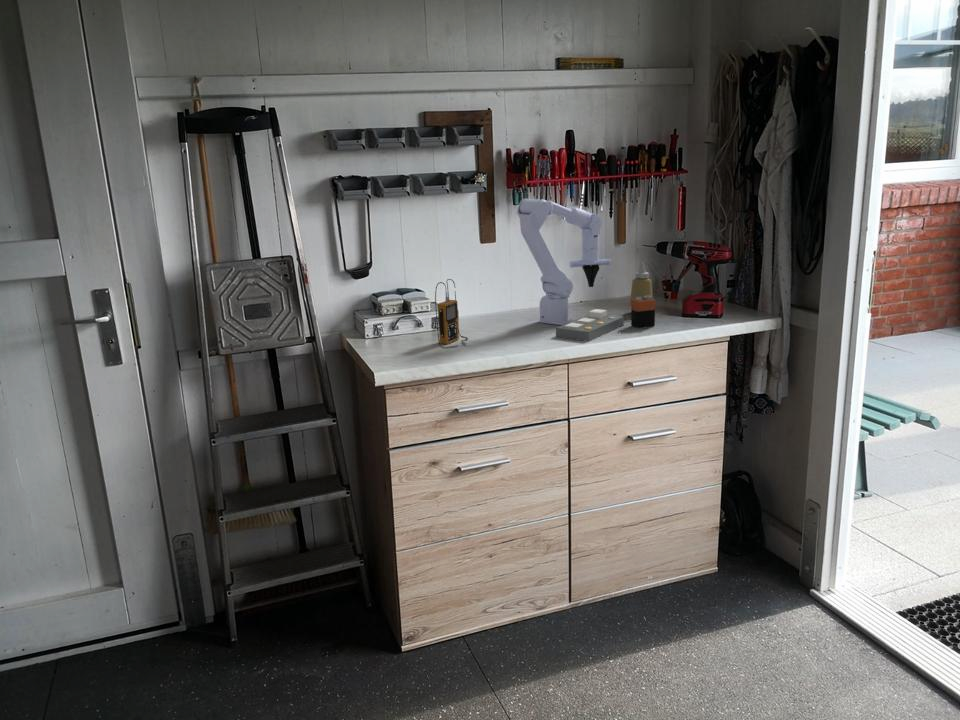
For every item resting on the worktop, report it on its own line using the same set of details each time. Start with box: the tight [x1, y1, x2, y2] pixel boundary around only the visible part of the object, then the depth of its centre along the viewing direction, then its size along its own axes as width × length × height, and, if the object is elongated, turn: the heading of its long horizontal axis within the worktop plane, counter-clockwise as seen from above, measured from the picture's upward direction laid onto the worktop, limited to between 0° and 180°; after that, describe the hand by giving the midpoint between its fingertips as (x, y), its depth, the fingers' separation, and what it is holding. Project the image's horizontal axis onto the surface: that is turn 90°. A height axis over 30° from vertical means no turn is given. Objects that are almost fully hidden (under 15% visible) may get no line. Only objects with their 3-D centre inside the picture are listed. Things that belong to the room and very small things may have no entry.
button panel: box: [555, 313, 625, 342], centre depth 256 cm, size 12×24×3 cm, turn 144°
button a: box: [565, 323, 584, 329], centre depth 250 cm, size 4×4×3 cm
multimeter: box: [434, 278, 469, 349], centre depth 245 cm, size 15×10×20 cm
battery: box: [630, 296, 656, 329], centre depth 259 cm, size 4×7×10 cm, turn 108°
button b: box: [577, 318, 596, 324], centre depth 256 cm, size 4×4×3 cm
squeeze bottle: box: [629, 261, 654, 305], centre depth 276 cm, size 8×8×18 cm
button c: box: [588, 308, 608, 319], centre depth 262 cm, size 4×4×3 cm
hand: (590, 286), depth 275 cm, fingers closed
